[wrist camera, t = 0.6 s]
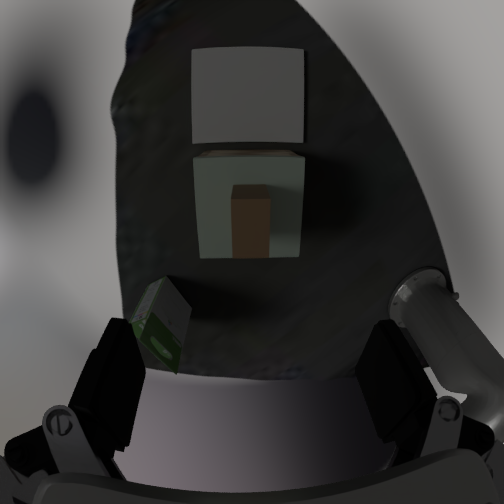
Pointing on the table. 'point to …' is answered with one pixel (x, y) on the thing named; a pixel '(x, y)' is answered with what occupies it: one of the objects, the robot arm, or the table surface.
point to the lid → (249, 205)
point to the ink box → (162, 321)
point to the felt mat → (247, 94)
